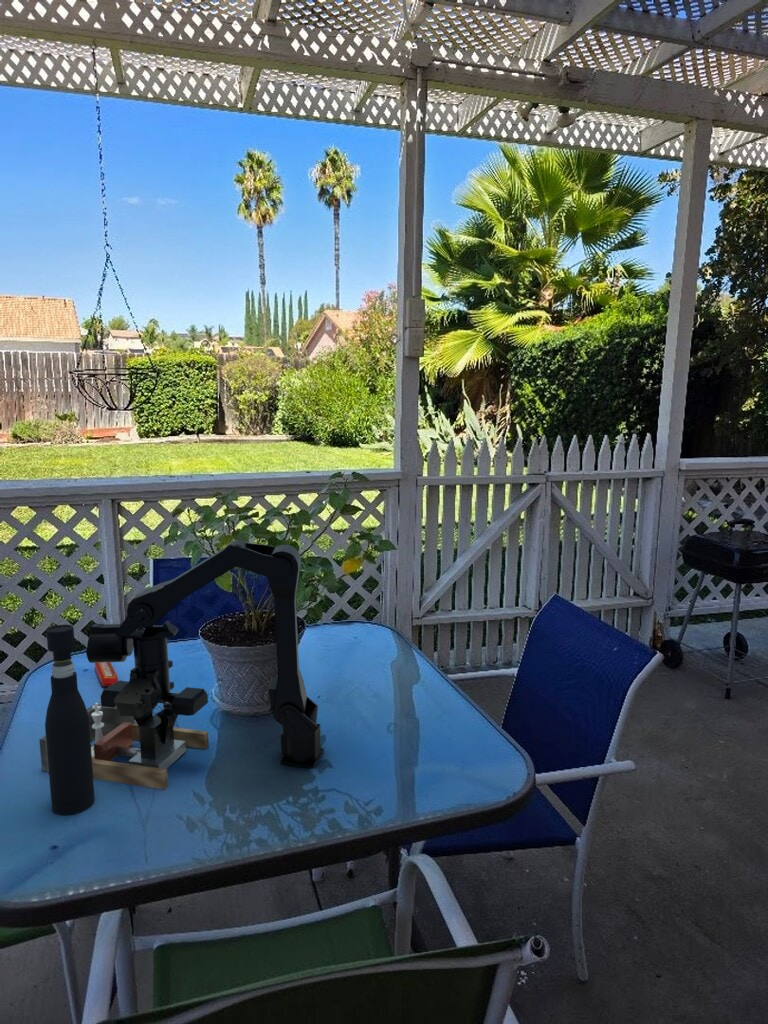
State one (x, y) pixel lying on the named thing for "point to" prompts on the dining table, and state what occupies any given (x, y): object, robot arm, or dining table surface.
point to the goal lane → (128, 771)
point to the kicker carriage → (150, 745)
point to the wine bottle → (67, 731)
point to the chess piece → (97, 725)
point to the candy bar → (106, 673)
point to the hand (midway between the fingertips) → (157, 741)
